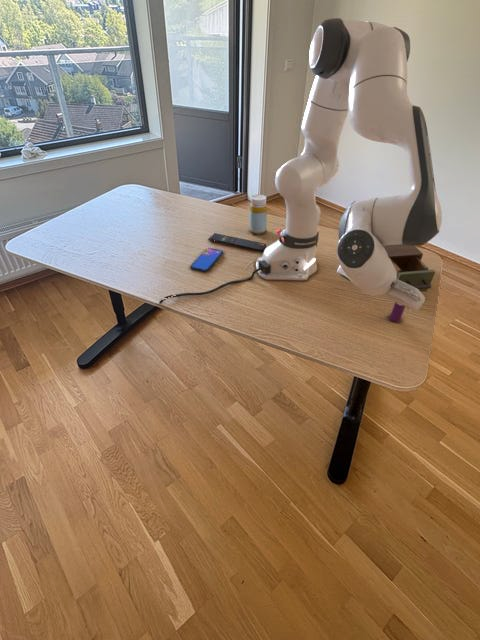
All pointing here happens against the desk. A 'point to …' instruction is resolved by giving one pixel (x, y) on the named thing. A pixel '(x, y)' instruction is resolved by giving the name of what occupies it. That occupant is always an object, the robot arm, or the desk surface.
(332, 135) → the robot arm
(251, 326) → the desk surface
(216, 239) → the remote control
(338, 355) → the desk surface
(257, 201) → the bottle
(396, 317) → the glue stick
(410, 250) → the cabinet
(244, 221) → the desk surface
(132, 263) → the desk surface
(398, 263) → the drawer
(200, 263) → the smartphone
